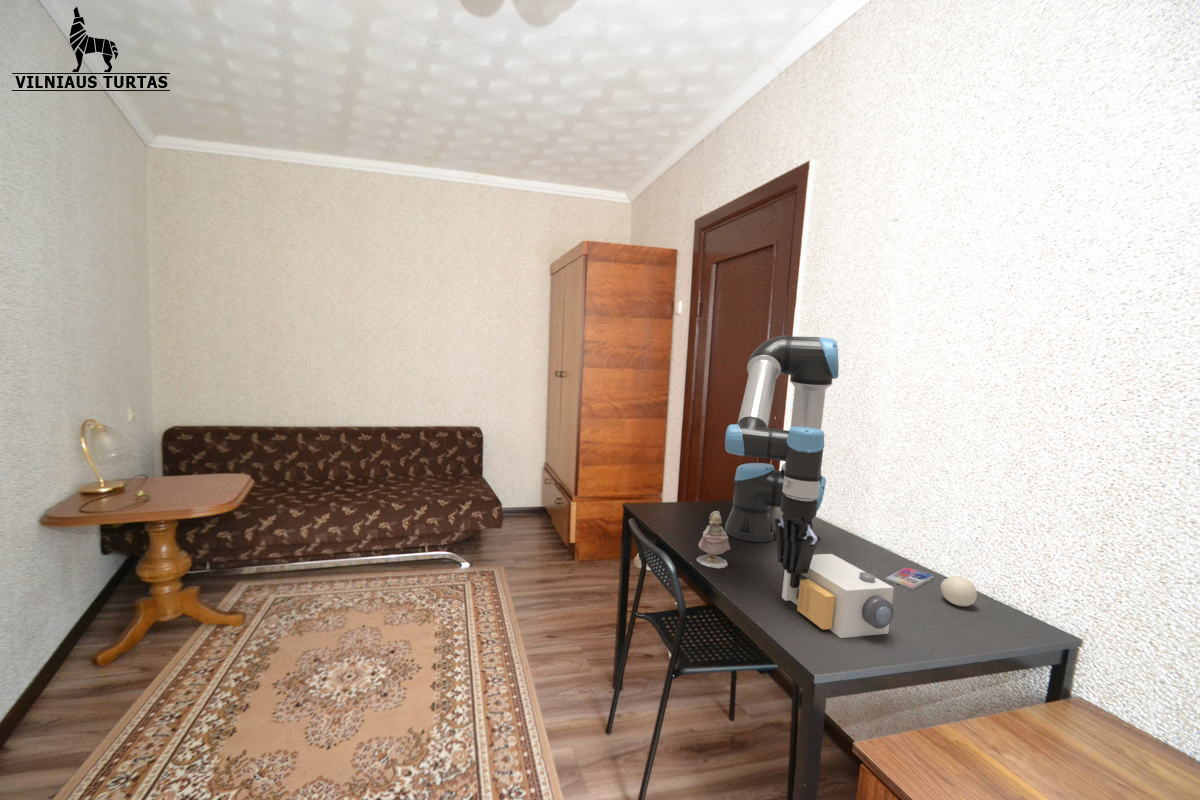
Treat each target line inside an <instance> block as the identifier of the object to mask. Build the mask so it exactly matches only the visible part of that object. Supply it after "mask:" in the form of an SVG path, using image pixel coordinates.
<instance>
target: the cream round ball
mask: <svg viewBox="0 0 1200 800" xmlns="http://www.w3.org/2000/svg"><path fill="white" fill-rule="evenodd" d="M940 590H941V592H942V595H943V596H944V598H945V599H946V600H947V602H948V603H951V604H953V605H955V606H958V607H970V606H971V605H973V604H974V603H975V602H976V600H977V597H978V591H977V588H976V587H975V585H974V584H973V583H972V582H971V581H970V580H969V579H967V578H964V577H962V576H949V577H947V578H944V579H943V580H942V581H941V583H940Z"/></svg>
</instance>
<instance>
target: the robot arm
mask: <svg viewBox="0 0 1200 800" xmlns="http://www.w3.org/2000/svg"><path fill="white" fill-rule="evenodd" d="M838 347H839V346H838V343H837V341H836V340H835V339H833V338H829V337H820V336H791V335H790V336H789V335H779V336H775V337H772V338H770V339H767V340H765V341H763V342H762V343H761V344H760V345H758V346H757V347H756V349H754V351H753V352H752V353H751V355H750V357H749V358H748V361H747V366H746V371H747V373H748V376H747V382H746V386H745V390H744V394H743V399H742V403H741V408H740V412H739V416H738V420H737V423H735V424H732V423H731V424H729V425H728V426H727V428H726V431H725V437H724V448H725V451H726V452H727V453H728V454H731V455H735V456H740V457H752V458H759V459H767V460H772V461H773V460H774V461H780V462H785V463H783V464H782V465H781V469H780V470H778V469H775V466H774V465H773V464H771V463H767V462H751V463H744V464H740V465H739V466H737V468H736V470H735V476H734V491H733V496H732V497H733V499H732V508H731V510H730V512H729V515H728V517H727V519H726V522H725V524H724V525H725V526H724V531H725V533H726V534H727V536H730V537H732V538H735V539H738V540H741V541H745V542H751V543H769V542H772V540H773V539H774V529H773V524H772V520H771V515H770V511H771V507H773V508H779V509H780V511H781V513H782V515H781V518H775V519H774V526H775V530H776V551H777V553H776V554H777V562H778V563H779V564H780V563H781V566H782V568H783V572H782V593H781V598H782V599H783V600H784V601H785V602H787V601H791V600H796V596H797V588H798V587H799V580H800V574H807V573H808V570H809V567H810V564H811V561H812V557H813V555H815V554H814V553H815V550H816V547H817V545H818V544H819V543H820V542H821V537H820V536H819V535H816V534H815V533H814V531H813V529H814V526H813V519H814V518H816V516H817V513H818V511H819V509H820V508H821V505H822V502H823V498H824V496H825V495H824V494H825V490H826V489H825V488H826V483H827V480H826V479H827V478H826V477H825V476H823V474H822V473H823V472H822V462H823V457H824V456H823V454H824V448H825V445H826V444H825V432H824V430H822V424H823V418H824V417H823V415H824V408H825V407H824V406H825V399H826V390H827V389H828V388H830V387H831V386H832V385H833V379H834V380H835V379H838V378H839V370H840V369H839V365H840V364H839V348H838ZM780 375H785V376H790V377H789V378H790V379H789V382H790V383H791V385H793V387H794V391H793V399H792V400H793V403H792V410H791V418H790V419H791V422H790V428H789V429H777V428H769V423H770V416H771V410H772V406H773V400H774V399H773V398H774V393H775V385H776V380H777V379H778V378H779V376H780Z"/></svg>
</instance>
